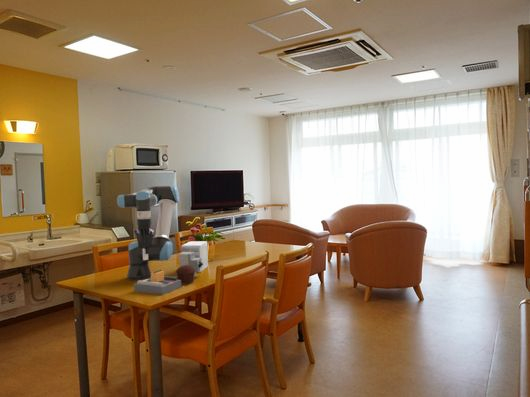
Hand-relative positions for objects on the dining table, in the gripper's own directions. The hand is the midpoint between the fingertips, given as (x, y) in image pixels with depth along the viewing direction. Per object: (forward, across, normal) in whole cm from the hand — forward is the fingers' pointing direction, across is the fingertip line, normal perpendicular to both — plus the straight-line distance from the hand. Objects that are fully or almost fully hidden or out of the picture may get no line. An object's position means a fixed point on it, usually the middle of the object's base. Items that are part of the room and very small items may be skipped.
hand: (145, 259), depth 229 cm
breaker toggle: (+12, +8, 0) cm, 14 cm away
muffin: (+16, +14, +18) cm, 28 cm away
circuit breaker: (+16, +9, +31) cm, 36 cm away
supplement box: (+16, -1, +49) cm, 52 cm away
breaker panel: (+16, +8, 0) cm, 18 cm away
